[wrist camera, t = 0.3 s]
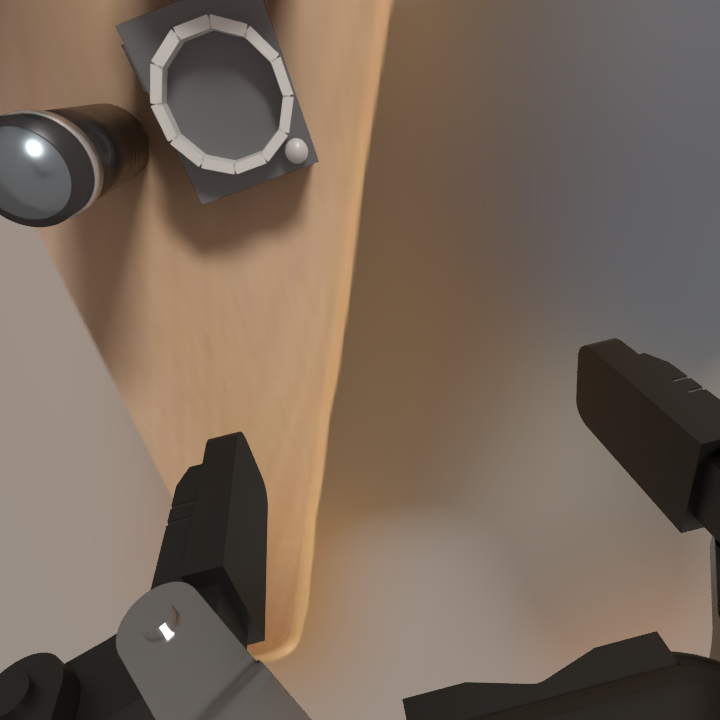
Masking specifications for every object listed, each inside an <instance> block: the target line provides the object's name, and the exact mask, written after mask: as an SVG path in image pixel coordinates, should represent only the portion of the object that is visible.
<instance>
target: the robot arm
mask: <svg viewBox="0 0 720 720" xmlns="http://www.w3.org/2000/svg"><path fill="white" fill-rule="evenodd" d="M576 396H577V397H576V399H577V400H576V402H577V408H578V411H579V414H580V416H581V418H582V420H583V422H584V423H585V424H586V426H587V427H588V428H589V429H590V430H591V431H592V433H593V434H594V435H595V436H596V437H597V438H598V439H599V441H600V442H601V443H602V444H603V445H604V446H605V447H606V449H607V450H608V451H609V452H610V453H611V454H612V455H613V456H614V458H615V459H616V460H617V461H618V462H619V463H620V464H621V465H622V467H623V468H624V469H625V470H626V471H627V472H628V473H629V475H630V476H631V477H632V478H633V479H634V480H635V481H636V482H637V483H638V485H639V486H640V487H641V488H642V489H643V490H644V491H645V493H646V494H647V495H648V496H649V497H650V498H651V499H652V501H653V502H654V503H655V504H656V505H657V506H658V507H659V508H660V510H661V511H662V512H663V513H664V514H665V515H666V516H667V518H668V519H669V520H670V521H671V522H672V523H673V524H674V525H675V527H676V528H677V529H678V530H679V531H680V532H681V533H683V532H687V531H691V530H695V529H699V528H703V527H705V528H706V529H707V530H708V531H709V532H710V533H711V535H712V539H711V543H710V564H711V593H712V626H713V630H712V631H713V632H712V643H711V650H710V657H709V658H707V657H702V656H699V655H694V654H688V653H681V652H671V651H670V650H669V649H668V647H667V646H666V644H665V643H664V641H663V640H662V638H661V637H660V636H659V634H658V632H652V633H649V634H645V635H641V636H637V637H634V638H630V639H626V640H622V641H619V642H615V643H611V644H608V645H604V646H600V647H596V648H594V649H592V650H591V651H589V652H588V653H587V654H585V655H583V656H582V657H580V658H578V659H577V660H576V661H574V662H572V663H571V664H569V665H568V666H566V667H565V668H563V669H562V670H560V671H558V672H557V673H555V674H554V675H552V676H551V677H549V678H548V679H546V680H545V681H542V682H540V683H537V684H509V683H470V682H468V683H467V682H465V683H461V684H458V685H454V686H450V687H446V688H443V689H439V690H435V691H432V692H428V693H424V694H420V695H416V696H413V697H409V698H405V699H403V704H404V709H405V714H406V720H720V399H718V398H717V397H716V396H714V395H713V394H711V393H710V392H709V391H707V390H703V389H702V386H700V385H699V384H698V383H696V382H695V381H694V380H692V379H691V378H690V379H688V378H687V375H685V374H684V373H683V372H681V371H680V370H679V369H677V368H676V367H675V366H673V365H672V364H670V363H669V362H667V361H664V360H661V359H659V358H656V357H653V356H651V355H648V354H645V353H643V354H638V353H636V352H635V351H634V350H632V349H631V348H630V347H628V346H627V345H626V344H624V343H623V342H622V341H621V340H619V339H616V338H613V339H609V340H605V341H601V342H597V343H593V344H589V345H585V346H583V347H581V348H580V350H579V353H578V371H577V395H576ZM267 514H268V501H267V493H266V488H265V484H264V481H263V478H262V476H261V473H260V471H259V469H258V466H257V464H256V462H255V459H254V457H253V455H252V452H251V450H250V447H249V445H248V443H247V440H246V438H245V436H244V434H243V433H242V432H236V433H232V434H228V435H224V436H220V437H216V438H212V439H209V440H208V441H207V443H206V448H205V453H204V458H203V463H202V464H200V465H196V466H192V467H189V469H188V470H187V472H186V473H185V474H184V476H183V477H182V479H181V480H180V482H179V483H178V485H177V486H176V490H175V494H174V498H173V502H172V509H171V510H170V514H169V518H168V526H166V531H165V534H164V538H163V542H162V546H161V550H160V554H159V559H158V562H157V566H156V571H155V575H154V579H153V583H152V587H151V590H150V591H149V592H147V593H146V594H144V595H143V596H142V597H141V598H139V600H137V601H136V602H135V603H134V604H133V605H132V607H131V608H130V609H129V610H128V612H127V613H126V615H125V616H124V618H123V620H122V621H121V624H120V626H119V628H118V632H117V634H115V635H114V636H112V637H111V638H109V639H108V640H106V641H104V642H102V643H101V644H99V645H97V646H95V647H93V648H92V649H90V650H88V651H86V652H85V653H83V654H82V655H79V656H78V657H76V658H74V659H72V660H71V661H69V662H67V663H65V664H64V663H63V662H62V661H61V660H60V659H59V658H58V657H57V656H55V655H53V654H51V653H37V654H33V655H30V656H27V657H25V658H23V659H21V660H19V661H17V662H15V663H14V664H12V665H11V666H9V667H8V668H7V669H5V670H4V671H3V672H2V673H0V720H311V718H310V717H309V716H308V715H307V714H306V713H305V711H304V710H303V709H302V708H301V707H300V705H298V703H297V702H296V701H295V700H294V698H293V697H292V696H291V695H290V694H289V693H288V692H287V690H286V689H285V688H284V687H283V686H282V685H281V683H280V682H279V681H278V680H277V679H276V677H275V676H274V675H273V674H272V673H271V672H270V671H269V669H268V668H267V667H266V666H265V665H264V664H263V663H262V662H261V661H259V660H258V661H256V660H255V659H254V658H253V657H252V656H251V654H250V653H249V652H248V651H247V645H249V644H253V643H257V642H261V641H265V600H266V557H267Z"/></svg>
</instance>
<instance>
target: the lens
mask: <svg viewBox="0 0 720 720" xmlns="http://www.w3.org/2000/svg"><path fill="white" fill-rule="evenodd" d="M148 156H149V143H148V138H147V135H146V133H145V131H144V129H143V127H142V126H141V124H140V123H139V121H138V120H137V119H136V118H135V117H134V116H133V115H132V114H130V113H129V112H128V111H126V110H124V109H123V108H120V107H118V106H115V105H112V104H95V105H86V106H78V107H69V108H61V109H53V110H22V111H15V112H10V113H7V114H5V115H3V116H0V215H2V216H3V217H5V218H7V219H9V220H11V221H13V222H16V223H19V224H22V225H26V226H31V227H47V226H53V225H56V224H59V223H61V222H63V221H65V220H66V219H68V218H72V217H74V216H76V215H78V214H80V213H81V212H83V211H84V210H86V209H87V208H89V207H90V206H91V205H92V204H93V203H94V202H95V201H96V200H97V199H99V198H100V197H102V196H103V195H105V194H107V193H108V192H110V191H111V190H113V189H114V188H116V187H117V186H119V185H121V184H122V183H124V182H125V181H127V180H128V179H130V178H131V177H133V176H135V175H136V174H138V173H139V172H140V171H141V170H142V169H143V168H144V166H145V165H146V163H147V160H148Z"/></svg>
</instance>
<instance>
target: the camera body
mask: <svg viewBox="0 0 720 720" xmlns="http://www.w3.org/2000/svg"><path fill="white" fill-rule="evenodd" d="M116 28H117V30H118V32H119V34H120V37H121V39H122V41H123V43H124V44H123V45H122V47H123V49H124V51H125V54H126V56H127V58H128V60H129V62H130V64H131V66H132V68H133V70H134V72H135V74H136V76H137V78H138V80H139V82H140V84H141V86H142V88H143V90H144V92H148V94H149V96H150V103H152V104H154V105H153V106H151V108H152V110H153V112H154V114H155V116H156V118H157V120H158V122H159V124H160V126H161V128H162V130H163V132H164V134H165V136H166V138H167V140H168V141H172V142H171V143H170V144H171V145H172V146H173V147H174V148H175V150H176V152H177V154H178V156H179V158H180V160H181V162H182V164H183V166H184V168H185V170H186V172H187V174H188V176H189V179H190V181H191V183H192V185H193V187H194V189H195V191H196V193H197V195H198V197H199V199H200V201H201V203H202V205H203V204H206V203H209V202H211V201H214V200H217V199H219V198H222V197H225V196H227V195H230V194H233V193H236V192H238V191H241V190H244V189H246V188H249V187H252V186H254V185H257V184H260V183H262V182H265V181H268V180H270V179H273V178H276V177H279V176H281V175H284V174H287V173H289V172H292V171H295V170H297V169H300V168H303V167H305V166H308V165H311V164H314V163H316V162H319V161H318V158H317V155H316V152H315V149H314V146H313V143H312V140H311V137H310V134H309V132H308V129H307V126H306V123H305V120H304V117H303V114H302V111H301V108H300V105H299V102H298V100H297V97H296V94H295V91H294V88H293V85H292V82H291V79H290V76H289V73H288V70H287V68H286V65H285V62H284V59H283V56H282V53H281V50H280V47H279V44H278V41H277V38H276V36H275V33H274V30H273V27H272V24H271V21H270V18H269V15H268V12H267V9H266V6H265V4H264V1H263V0H180V1H178V2H175V3H172V4H170V5H167V6H165V7H162V8H160V9H157V10H154V11H152V12H149V13H147V14H144V15H142V16H139V17H136V18H134V19H131V20H129V21H126V22H124V23H121V24H118V25H116Z"/></svg>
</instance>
